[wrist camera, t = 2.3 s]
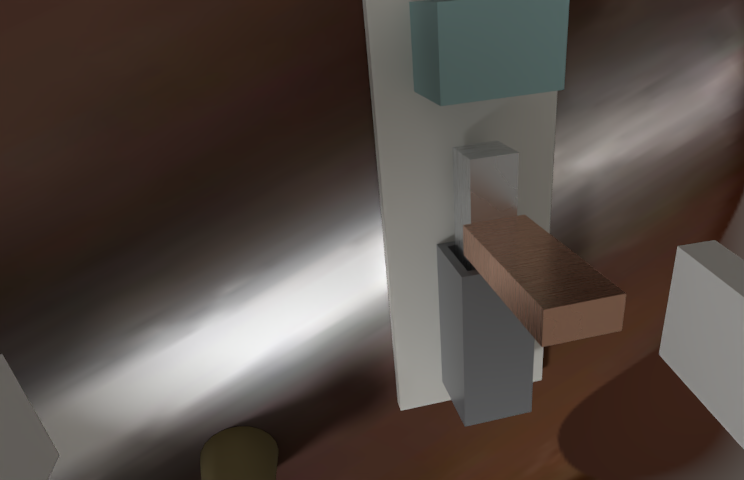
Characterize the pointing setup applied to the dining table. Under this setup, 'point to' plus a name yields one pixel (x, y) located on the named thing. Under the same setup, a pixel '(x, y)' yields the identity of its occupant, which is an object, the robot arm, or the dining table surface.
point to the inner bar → (525, 253)
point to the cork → (239, 455)
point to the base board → (437, 187)
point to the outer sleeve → (481, 345)
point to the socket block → (487, 48)
